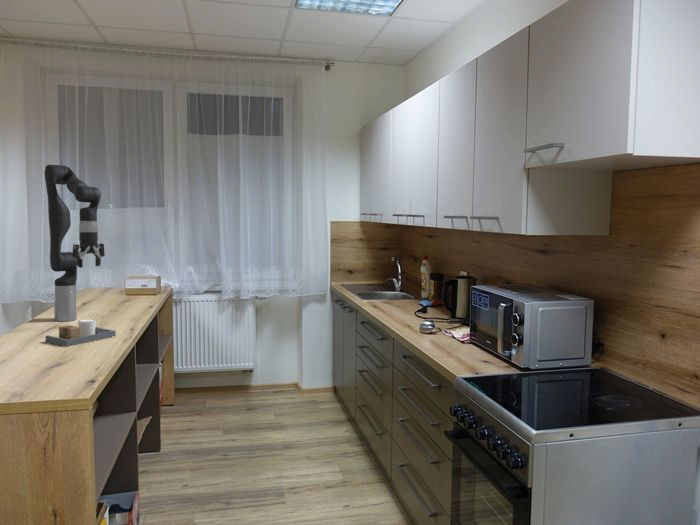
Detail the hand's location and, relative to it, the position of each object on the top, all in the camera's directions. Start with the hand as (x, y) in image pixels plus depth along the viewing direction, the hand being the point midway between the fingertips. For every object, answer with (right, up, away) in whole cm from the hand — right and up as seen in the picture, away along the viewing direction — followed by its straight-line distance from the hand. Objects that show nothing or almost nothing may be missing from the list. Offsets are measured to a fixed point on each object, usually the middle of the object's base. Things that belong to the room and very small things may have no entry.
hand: (89, 266), depth 242 cm
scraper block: (+4, -30, -24) cm, 39 cm away
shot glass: (+7, -30, -15) cm, 34 cm away
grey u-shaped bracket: (+6, -30, -20) cm, 37 cm away
